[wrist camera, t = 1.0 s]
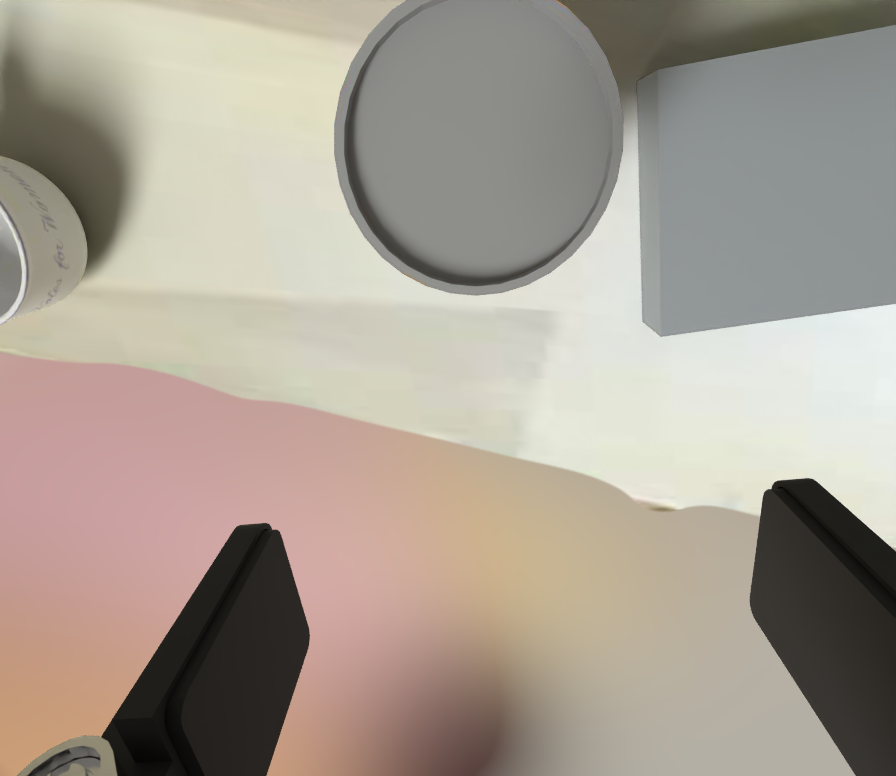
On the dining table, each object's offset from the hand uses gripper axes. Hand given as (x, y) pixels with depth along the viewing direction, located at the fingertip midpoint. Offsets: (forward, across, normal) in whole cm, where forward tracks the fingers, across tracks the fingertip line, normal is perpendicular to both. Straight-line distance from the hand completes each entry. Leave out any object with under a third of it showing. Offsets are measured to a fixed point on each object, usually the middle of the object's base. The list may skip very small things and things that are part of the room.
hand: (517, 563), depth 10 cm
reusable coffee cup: (+31, 0, -8) cm, 32 cm away
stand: (+31, -20, -3) cm, 36 cm away
